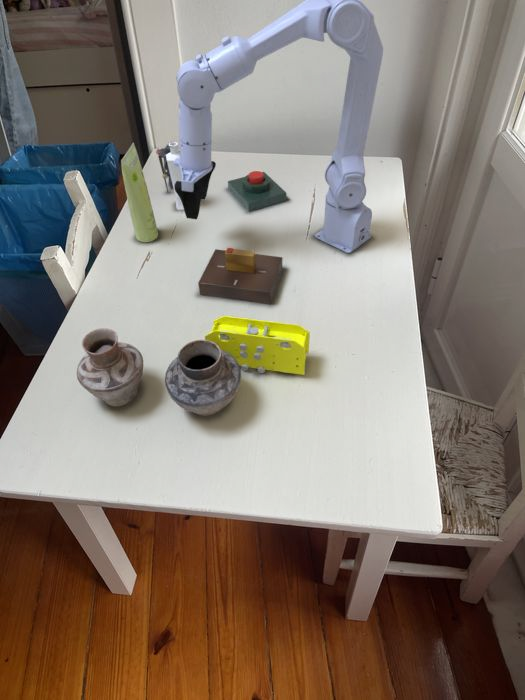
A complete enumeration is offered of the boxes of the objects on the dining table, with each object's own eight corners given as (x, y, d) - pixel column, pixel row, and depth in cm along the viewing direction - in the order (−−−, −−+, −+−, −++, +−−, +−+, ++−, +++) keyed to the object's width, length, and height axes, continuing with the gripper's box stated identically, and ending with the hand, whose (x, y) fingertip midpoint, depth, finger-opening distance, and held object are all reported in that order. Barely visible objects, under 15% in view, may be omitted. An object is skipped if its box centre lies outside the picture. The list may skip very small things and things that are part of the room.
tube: (163, 239, 107) (145, 152, 92) (142, 247, 105) (120, 160, 91) (152, 227, 110) (133, 142, 96) (132, 235, 108) (109, 149, 94)
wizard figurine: (165, 180, 125) (156, 133, 116) (187, 179, 125) (180, 132, 116) (162, 197, 119) (153, 149, 110) (185, 196, 119) (177, 148, 110)
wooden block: (256, 268, 94) (255, 250, 91) (254, 273, 93) (253, 255, 90) (228, 265, 95) (227, 247, 92) (226, 270, 94) (224, 252, 91)
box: (286, 200, 116) (286, 185, 113) (248, 211, 113) (248, 196, 110) (264, 179, 124) (263, 164, 121) (228, 189, 121) (226, 174, 118)
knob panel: (282, 269, 98) (282, 256, 96) (270, 304, 91) (270, 291, 89) (216, 261, 101) (215, 248, 98) (200, 294, 94) (197, 282, 91)
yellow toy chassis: (208, 367, 81) (202, 331, 75) (217, 342, 85) (212, 307, 78) (303, 380, 78) (305, 344, 72) (308, 354, 82) (310, 319, 76)
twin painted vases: (102, 364, 82) (81, 312, 73) (248, 376, 79) (244, 323, 70) (76, 419, 74) (49, 368, 66) (236, 434, 72) (230, 383, 63)
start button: (266, 182, 115) (266, 175, 114) (252, 186, 114) (252, 179, 113) (259, 176, 118) (259, 169, 116) (246, 180, 116) (245, 173, 115)
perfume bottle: (194, 201, 117) (185, 139, 106) (191, 210, 114) (181, 148, 103) (176, 200, 118) (165, 139, 107) (172, 210, 115) (160, 147, 104)
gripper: (182, 120, 91) (184, 187, 101) (162, 153, 81) (167, 224, 91) (219, 125, 91) (218, 192, 101) (204, 159, 81) (204, 229, 91)
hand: (196, 207), depth 96 cm, fingers open, 7 cm apart
